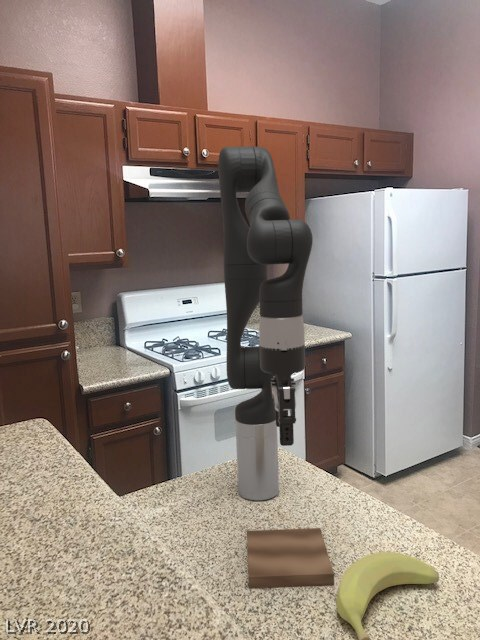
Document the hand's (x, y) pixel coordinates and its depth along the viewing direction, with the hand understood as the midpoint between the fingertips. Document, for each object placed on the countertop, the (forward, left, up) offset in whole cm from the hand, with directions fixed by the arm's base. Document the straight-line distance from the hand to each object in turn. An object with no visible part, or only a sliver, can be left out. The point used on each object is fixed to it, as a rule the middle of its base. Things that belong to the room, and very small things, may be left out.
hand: (284, 435), depth 90 cm
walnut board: (0, 0, -23) cm, 23 cm away
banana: (+4, +18, -21) cm, 28 cm away
